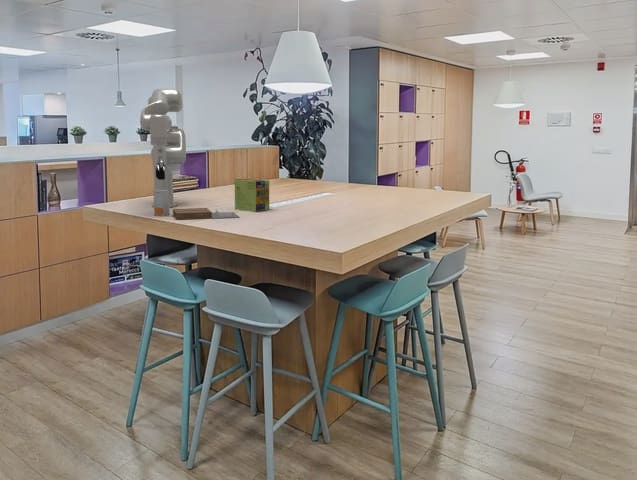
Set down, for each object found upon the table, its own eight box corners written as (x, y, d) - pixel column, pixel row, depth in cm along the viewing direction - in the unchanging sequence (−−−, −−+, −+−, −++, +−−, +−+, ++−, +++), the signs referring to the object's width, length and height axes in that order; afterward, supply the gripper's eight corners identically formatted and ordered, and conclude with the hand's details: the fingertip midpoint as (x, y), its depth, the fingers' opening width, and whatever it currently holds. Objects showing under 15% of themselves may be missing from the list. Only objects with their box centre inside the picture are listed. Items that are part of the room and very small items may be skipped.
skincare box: (153, 215, 265) (152, 190, 263) (159, 213, 269) (158, 189, 267) (164, 216, 263) (163, 190, 261) (169, 214, 267) (169, 190, 264)
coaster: (227, 209, 272) (228, 213, 273) (215, 209, 270) (215, 213, 270) (231, 211, 264) (231, 216, 264) (219, 212, 262) (219, 216, 262)
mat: (206, 213, 273) (206, 212, 273) (232, 212, 277) (232, 211, 277) (212, 218, 258) (212, 218, 258) (239, 217, 262) (239, 216, 262)
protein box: (256, 212, 280) (255, 181, 277) (234, 209, 289) (234, 179, 286) (270, 210, 288) (270, 180, 285) (248, 207, 297) (248, 178, 294)
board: (173, 215, 266) (172, 209, 265) (206, 213, 272) (206, 207, 271) (176, 219, 253) (176, 213, 253) (211, 218, 259) (211, 212, 258)
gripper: (169, 142, 252) (170, 180, 256) (165, 141, 268) (166, 177, 272) (152, 142, 250) (153, 180, 253) (149, 141, 266) (150, 177, 269)
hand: (160, 178), depth 262 cm, fingers open, 9 cm apart
